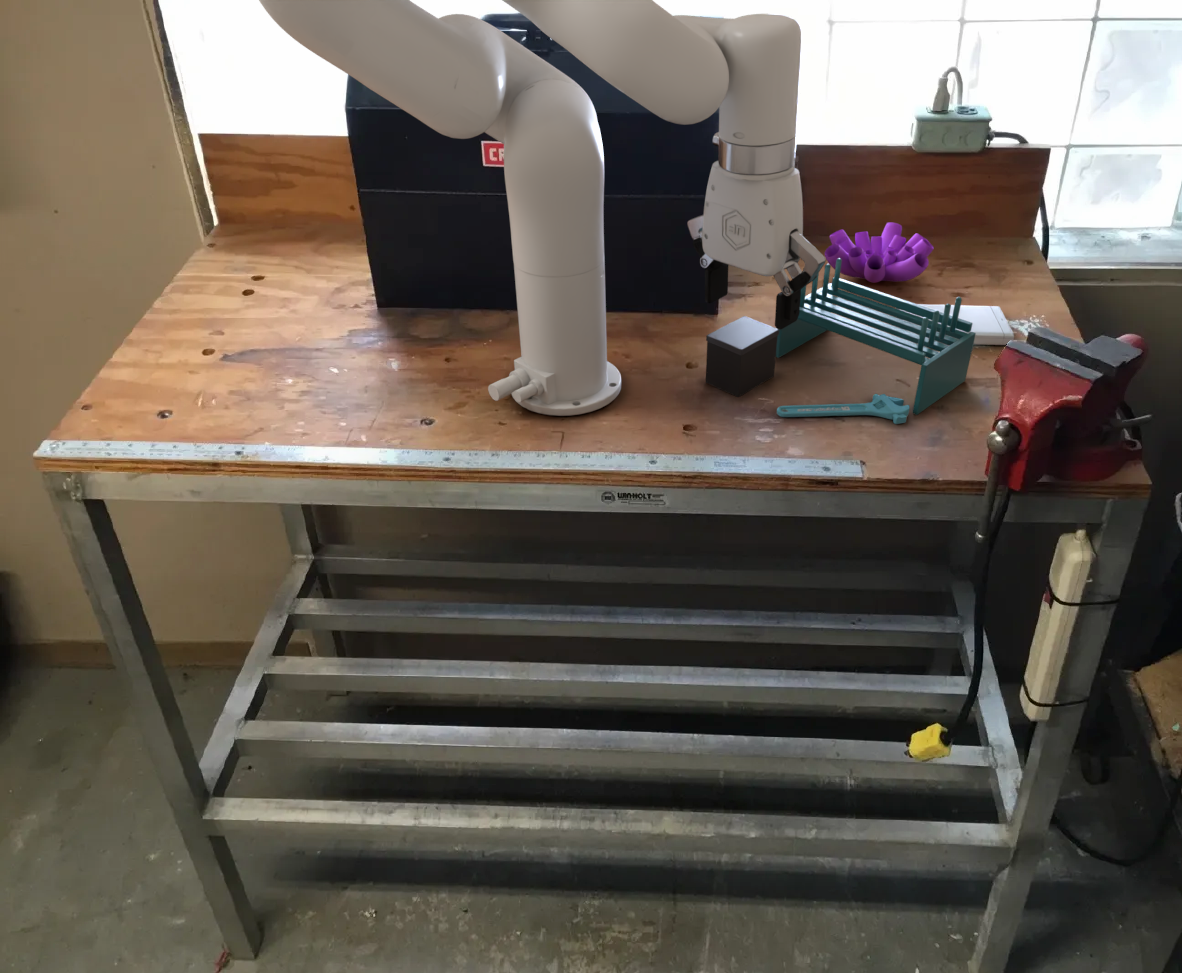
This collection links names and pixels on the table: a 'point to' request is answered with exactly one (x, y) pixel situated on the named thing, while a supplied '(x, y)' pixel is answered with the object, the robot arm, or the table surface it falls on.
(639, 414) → the table surface
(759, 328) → the black box
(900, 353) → the rack
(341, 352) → the table surface
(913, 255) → the purple tubular cluster
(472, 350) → the table surface
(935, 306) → the hard drive
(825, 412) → the adjustable wrench
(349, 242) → the table surface
